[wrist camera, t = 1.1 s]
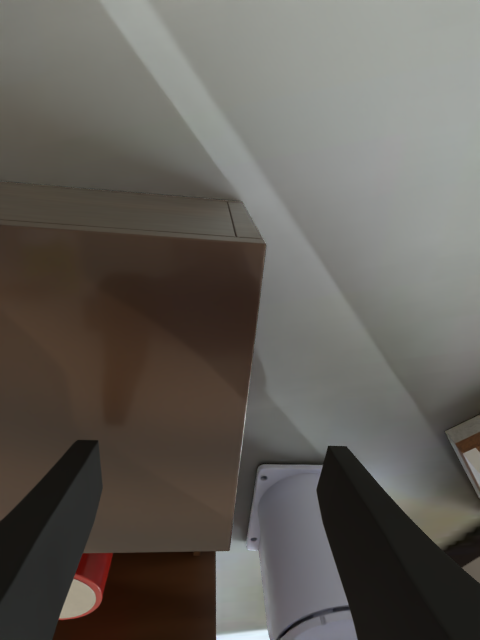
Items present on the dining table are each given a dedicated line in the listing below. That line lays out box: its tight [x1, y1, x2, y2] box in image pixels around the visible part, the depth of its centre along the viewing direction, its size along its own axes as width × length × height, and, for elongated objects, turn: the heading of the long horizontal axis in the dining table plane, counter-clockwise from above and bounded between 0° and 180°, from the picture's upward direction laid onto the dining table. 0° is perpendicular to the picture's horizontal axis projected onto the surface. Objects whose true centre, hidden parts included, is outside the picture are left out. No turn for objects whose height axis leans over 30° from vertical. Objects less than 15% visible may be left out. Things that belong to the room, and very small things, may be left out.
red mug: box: [59, 553, 114, 620], centre depth 20 cm, size 6×4×6 cm
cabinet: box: [0, 181, 266, 553], centre depth 16 cm, size 14×17×9 cm
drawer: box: [52, 551, 216, 640], centre depth 21 cm, size 17×17×8 cm
